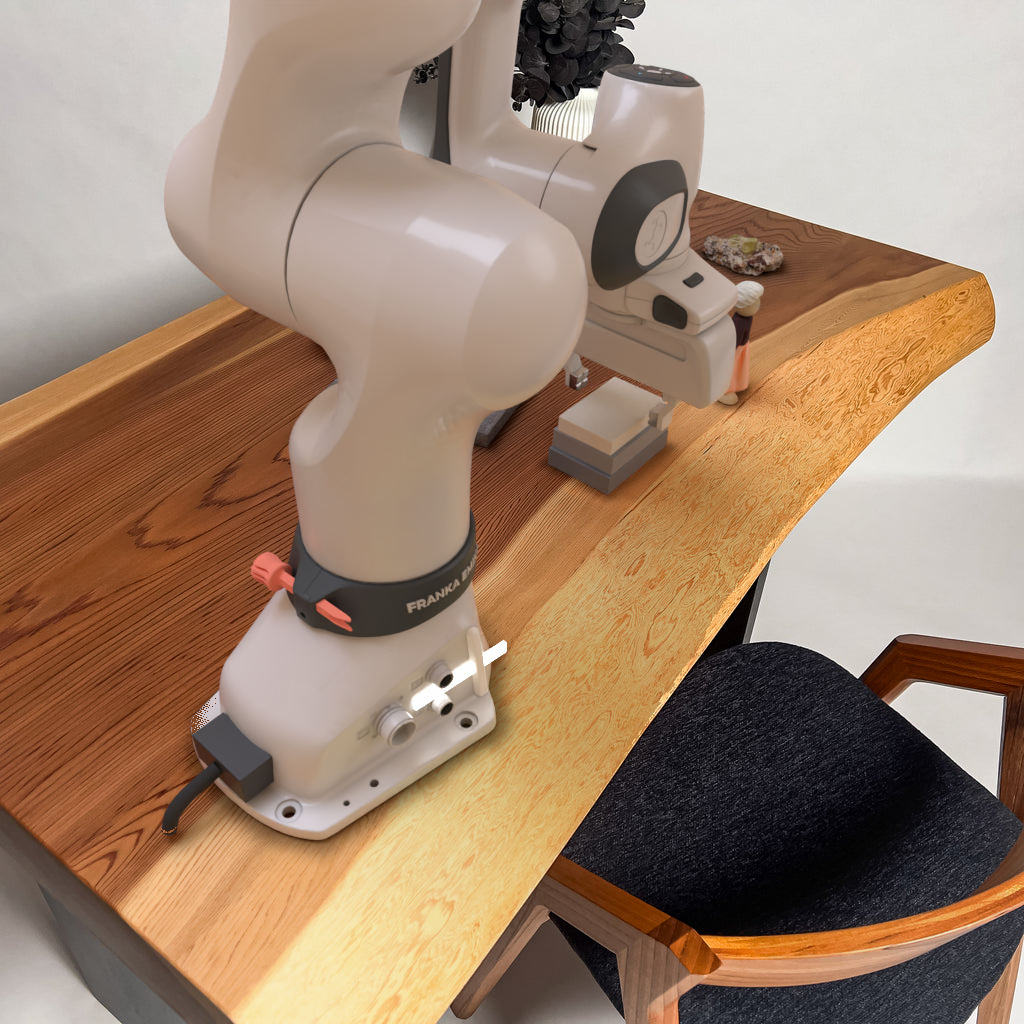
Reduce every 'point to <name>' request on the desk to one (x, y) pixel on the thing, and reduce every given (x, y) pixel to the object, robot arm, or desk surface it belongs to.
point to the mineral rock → (743, 254)
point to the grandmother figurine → (742, 337)
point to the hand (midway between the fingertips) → (616, 405)
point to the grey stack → (604, 458)
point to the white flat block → (609, 415)
